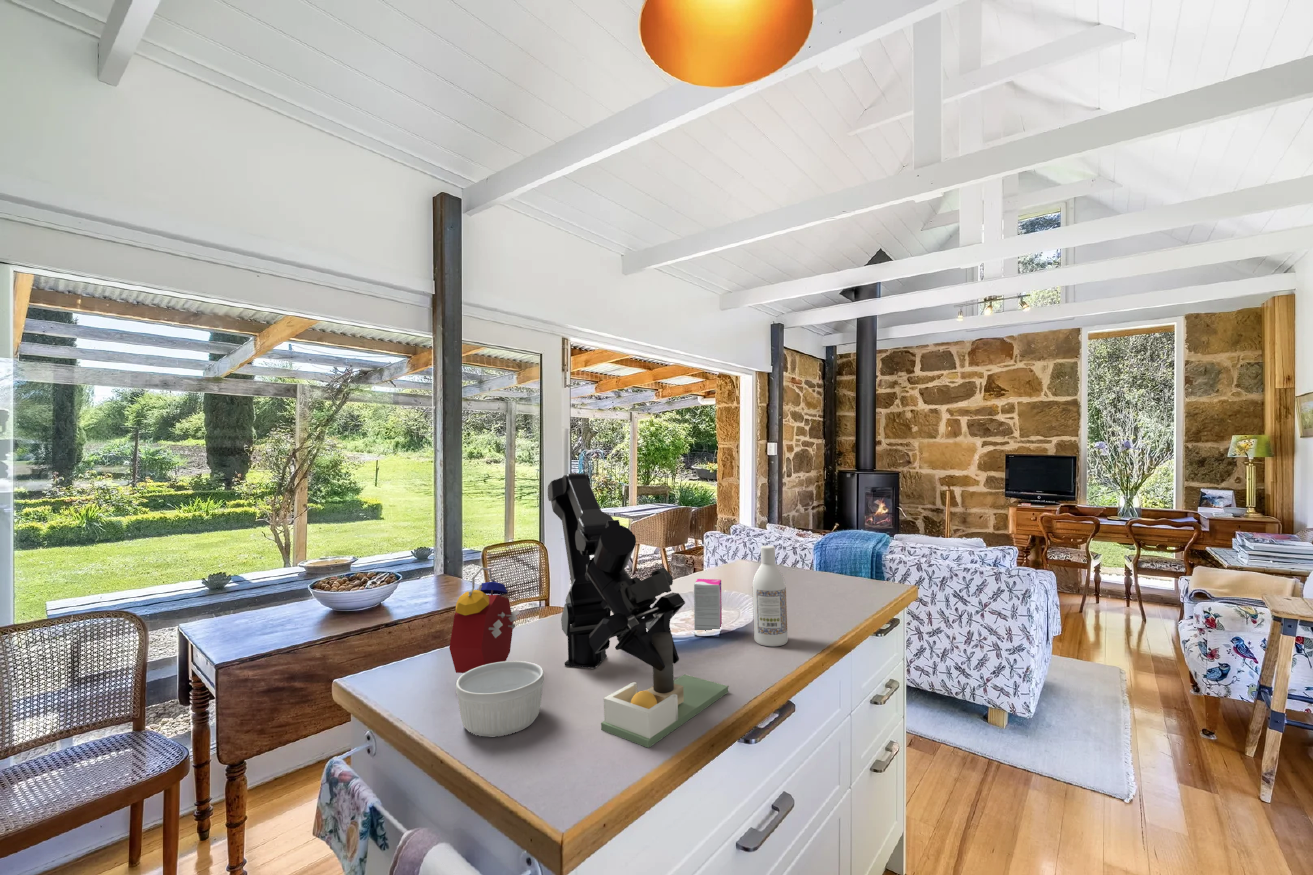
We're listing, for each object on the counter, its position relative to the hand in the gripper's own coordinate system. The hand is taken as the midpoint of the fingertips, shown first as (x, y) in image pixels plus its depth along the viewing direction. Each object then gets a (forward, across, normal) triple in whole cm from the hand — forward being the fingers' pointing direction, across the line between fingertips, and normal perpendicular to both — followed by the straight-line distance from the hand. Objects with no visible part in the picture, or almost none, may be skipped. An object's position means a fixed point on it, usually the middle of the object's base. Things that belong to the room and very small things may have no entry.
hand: (670, 665), depth 87 cm
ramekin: (-9, -16, +20) cm, 28 cm away
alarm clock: (-21, -6, +32) cm, 39 cm away
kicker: (+3, 0, +5) cm, 6 cm away
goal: (+4, -6, +6) cm, 9 cm away
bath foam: (+4, +38, +7) cm, 39 cm away
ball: (+2, -5, +4) cm, 7 cm away
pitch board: (+4, +1, +6) cm, 8 cm away
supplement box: (-6, +36, +17) cm, 40 cm away
